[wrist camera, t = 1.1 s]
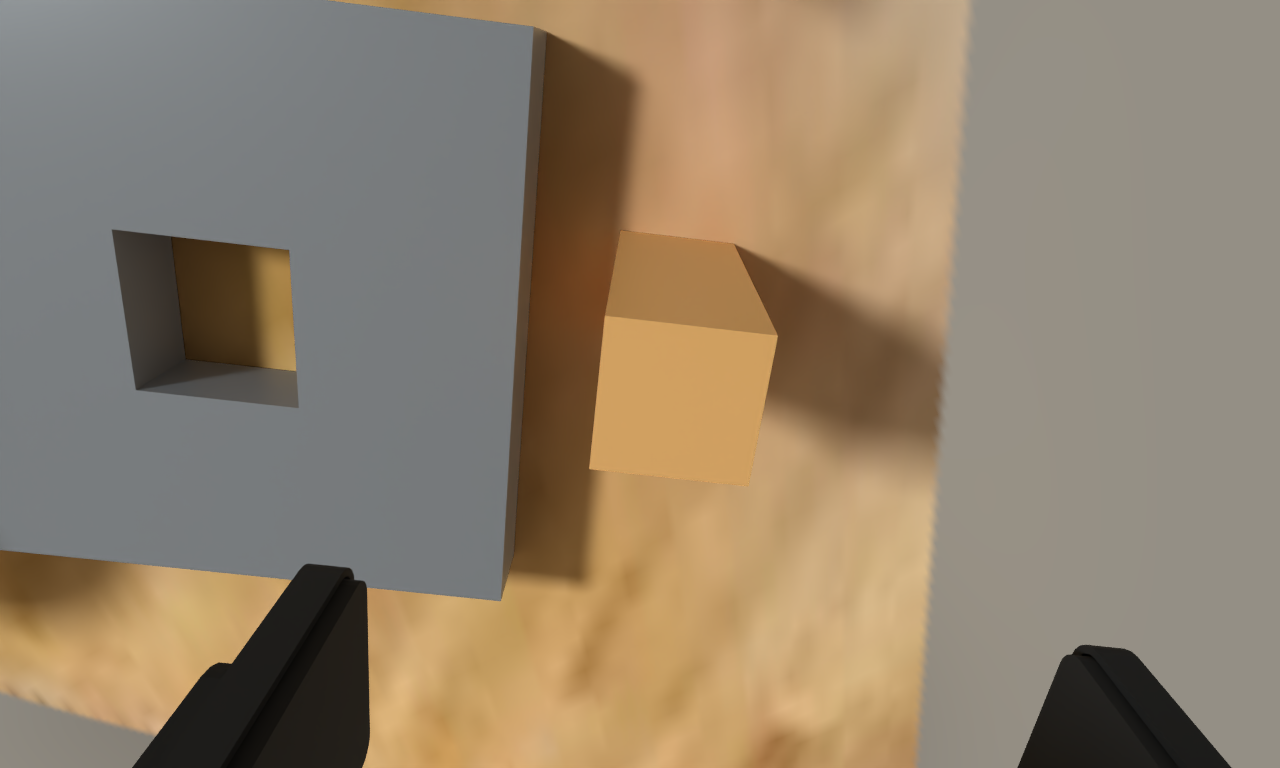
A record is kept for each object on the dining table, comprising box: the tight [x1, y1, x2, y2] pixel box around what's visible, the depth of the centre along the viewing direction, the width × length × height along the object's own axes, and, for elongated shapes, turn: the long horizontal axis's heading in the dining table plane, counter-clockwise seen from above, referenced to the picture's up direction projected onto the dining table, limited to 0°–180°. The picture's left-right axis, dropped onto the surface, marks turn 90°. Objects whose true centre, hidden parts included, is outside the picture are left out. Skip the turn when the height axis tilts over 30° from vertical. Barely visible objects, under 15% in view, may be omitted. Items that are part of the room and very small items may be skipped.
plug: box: [589, 230, 778, 486], centre depth 23 cm, size 4×4×10 cm
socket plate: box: [0, 0, 547, 601], centre depth 26 cm, size 20×20×3 cm
